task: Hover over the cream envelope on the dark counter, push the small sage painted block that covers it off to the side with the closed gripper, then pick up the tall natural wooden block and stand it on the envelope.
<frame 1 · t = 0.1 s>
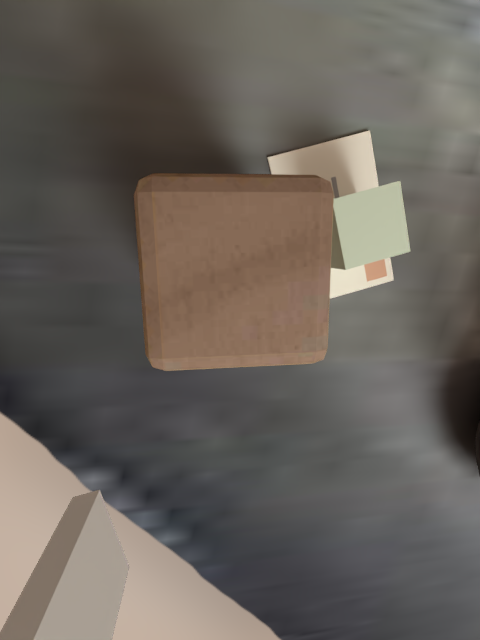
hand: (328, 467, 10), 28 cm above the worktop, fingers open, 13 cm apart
letter: (333, 222, 36), on the worktop
sage block: (336, 231, 36), resting on letter
wooden block: (220, 263, 36), on the worktop
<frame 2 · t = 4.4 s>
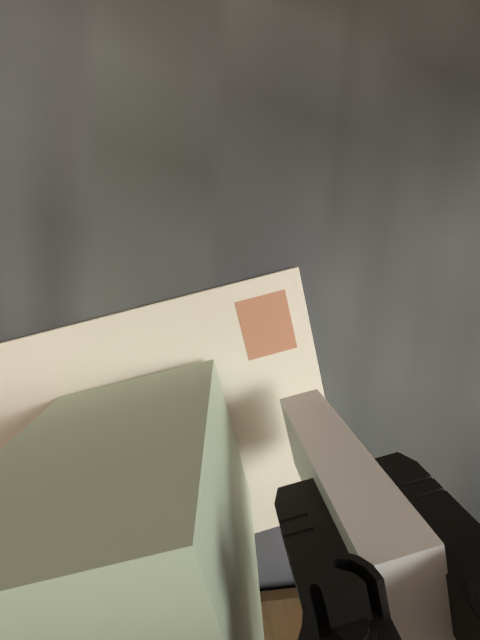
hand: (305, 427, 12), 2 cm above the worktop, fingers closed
letter: (137, 445, 14), on the worktop
sage block: (159, 446, 13), point 1 cm above the worktop, touching gripper, letter
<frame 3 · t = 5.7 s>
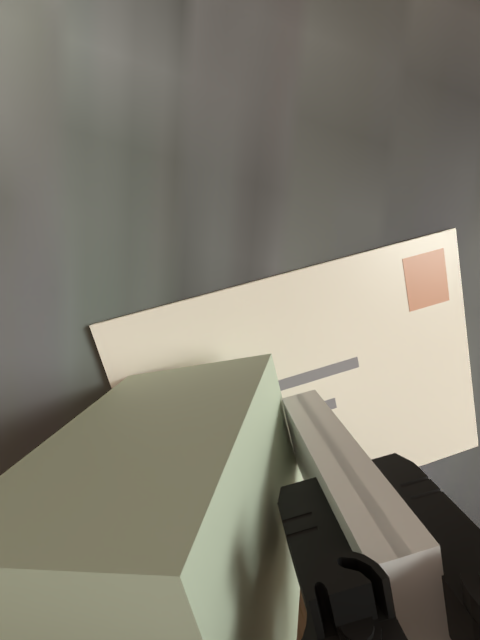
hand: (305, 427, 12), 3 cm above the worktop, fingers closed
letter: (307, 391, 15), on the worktop
sage block: (215, 434, 13), point 1 cm above the worktop, tilted 23°, touching gripper, letter
wooden block: (369, 598, 18), on the worktop
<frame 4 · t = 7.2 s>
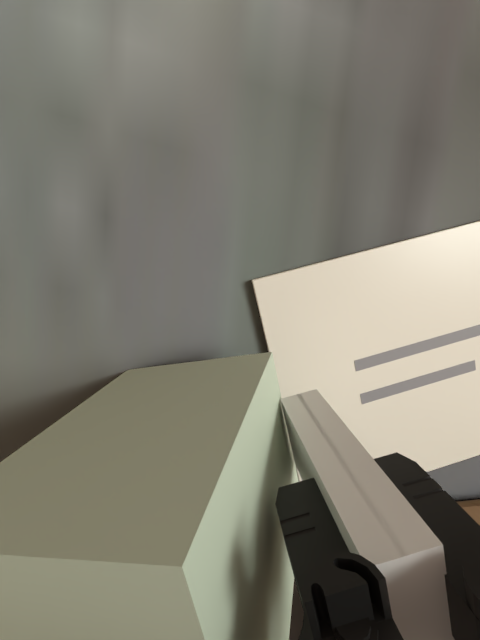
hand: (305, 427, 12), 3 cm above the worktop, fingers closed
letter: (446, 353, 15), on the worktop
sage block: (213, 431, 13), point 1 cm above the worktop, tilted 22°, touching gripper
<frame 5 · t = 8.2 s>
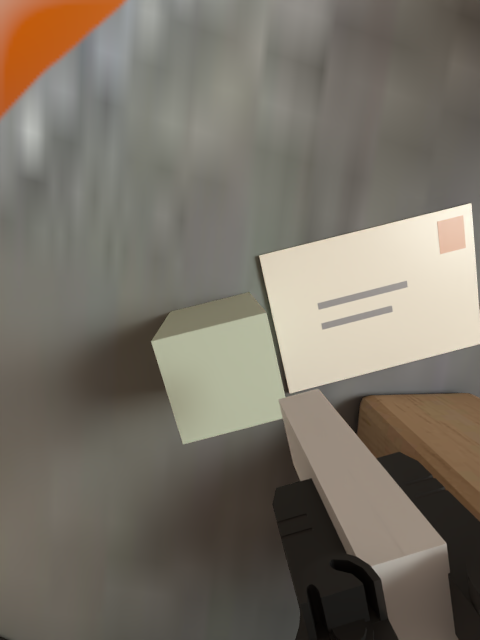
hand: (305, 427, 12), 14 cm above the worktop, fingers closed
letter: (375, 301, 26), on the worktop
sage block: (219, 339, 25), on the worktop
wooden block: (406, 442, 29), on the worktop
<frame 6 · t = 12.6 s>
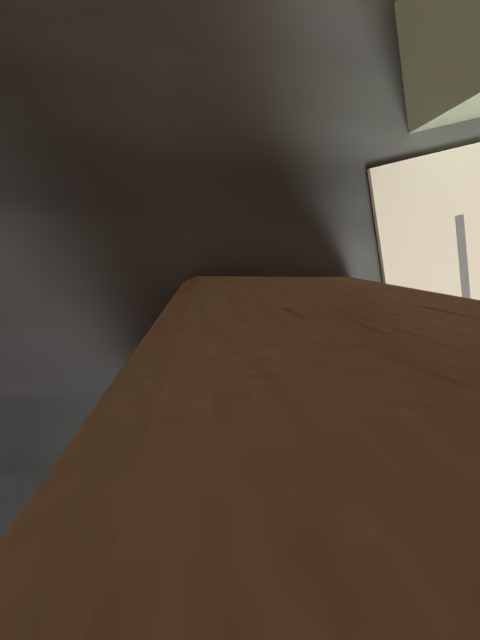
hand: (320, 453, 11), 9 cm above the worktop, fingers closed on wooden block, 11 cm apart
letter: (474, 289, 20), on the worktop
sage block: (456, 59, 17), on the worktop
wooden block: (267, 360, 20), on the worktop, touching gripper
when the fingers open (11 cm above the worktop, at t = 18.0 s): wooden block drops 1 cm, resting on letter.
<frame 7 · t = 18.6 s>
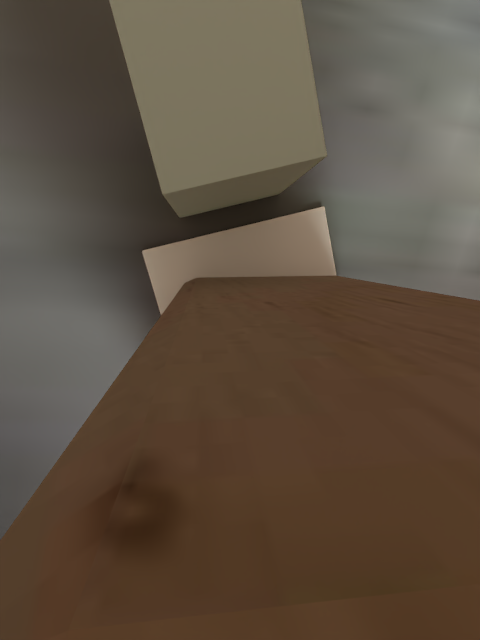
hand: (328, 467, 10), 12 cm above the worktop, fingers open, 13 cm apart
letter: (263, 353, 21), on the worktop
sage block: (217, 152, 19), on the worktop
wooden block: (263, 353, 21), resting on letter
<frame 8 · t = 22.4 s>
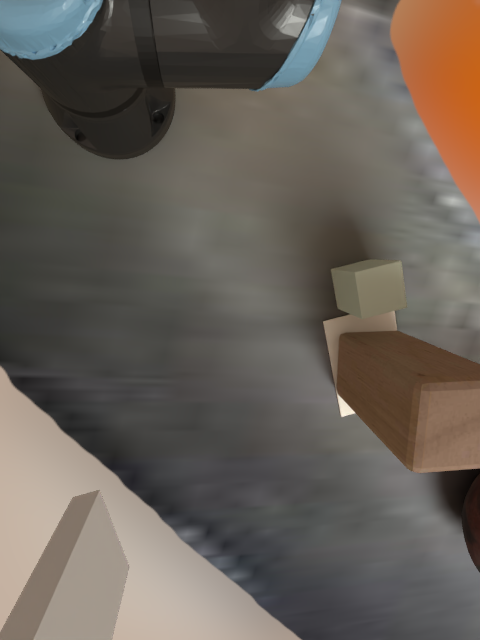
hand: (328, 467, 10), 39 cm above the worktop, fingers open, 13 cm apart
letter: (365, 361, 52), on the worktop
sage block: (353, 284, 49), on the worktop
wooden block: (365, 361, 52), resting on letter
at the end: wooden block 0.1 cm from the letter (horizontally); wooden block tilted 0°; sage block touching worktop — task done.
